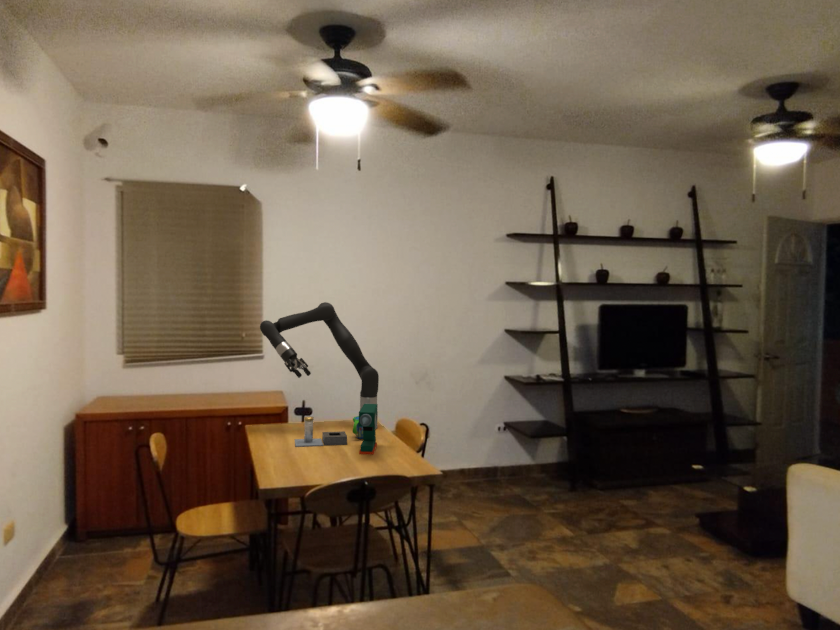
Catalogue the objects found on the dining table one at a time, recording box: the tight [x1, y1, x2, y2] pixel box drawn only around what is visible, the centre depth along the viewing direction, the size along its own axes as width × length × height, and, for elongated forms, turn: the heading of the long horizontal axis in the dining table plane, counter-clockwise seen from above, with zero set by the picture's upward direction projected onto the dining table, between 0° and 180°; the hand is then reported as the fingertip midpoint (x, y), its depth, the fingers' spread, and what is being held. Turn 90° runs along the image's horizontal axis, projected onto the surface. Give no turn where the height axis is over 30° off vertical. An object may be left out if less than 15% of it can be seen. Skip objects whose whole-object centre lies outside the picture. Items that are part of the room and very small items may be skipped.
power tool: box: [358, 403, 378, 455], centre depth 286 cm, size 32×7×20 cm, turn 179°
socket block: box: [321, 431, 348, 446], centre depth 304 cm, size 11×11×4 cm
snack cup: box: [352, 415, 363, 440], centre depth 316 cm, size 16×10×10 cm
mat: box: [294, 437, 324, 448], centre depth 302 cm, size 13×13×1 cm
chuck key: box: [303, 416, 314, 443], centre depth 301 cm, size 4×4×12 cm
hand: (305, 375), depth 317 cm, fingers open, 8 cm apart
